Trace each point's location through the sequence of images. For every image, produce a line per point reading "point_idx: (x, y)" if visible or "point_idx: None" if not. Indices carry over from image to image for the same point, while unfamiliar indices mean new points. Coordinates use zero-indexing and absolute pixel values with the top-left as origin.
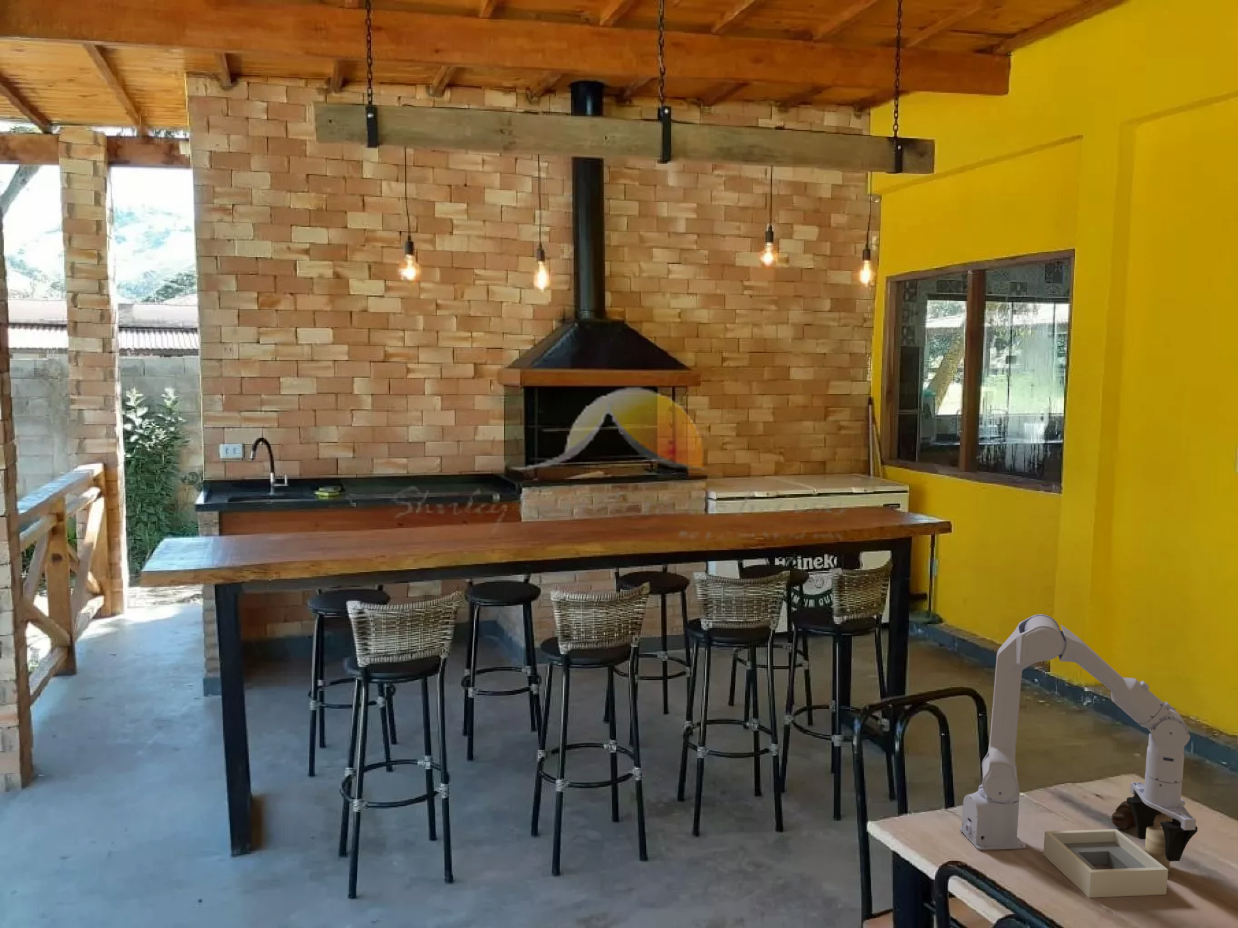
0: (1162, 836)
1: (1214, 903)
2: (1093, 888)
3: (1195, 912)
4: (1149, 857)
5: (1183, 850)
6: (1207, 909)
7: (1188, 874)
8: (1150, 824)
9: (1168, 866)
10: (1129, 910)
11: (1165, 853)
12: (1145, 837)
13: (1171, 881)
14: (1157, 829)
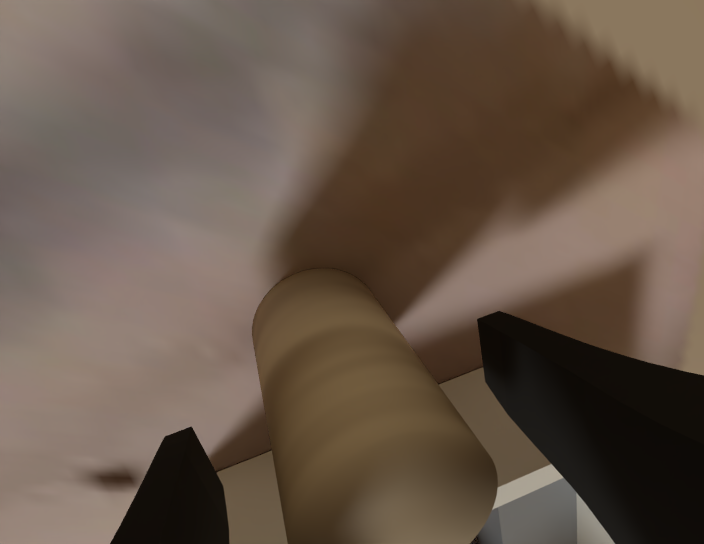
0: (485, 502)
1: (621, 148)
2: None
3: (667, 265)
4: (527, 487)
5: (570, 339)
6: (657, 205)
7: (350, 166)
8: (177, 540)
9: (378, 303)
10: None
11: (510, 417)
12: (210, 468)
13: (439, 287)
14: (356, 528)
